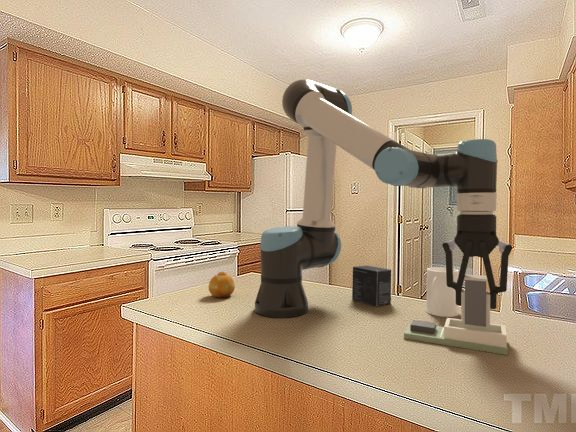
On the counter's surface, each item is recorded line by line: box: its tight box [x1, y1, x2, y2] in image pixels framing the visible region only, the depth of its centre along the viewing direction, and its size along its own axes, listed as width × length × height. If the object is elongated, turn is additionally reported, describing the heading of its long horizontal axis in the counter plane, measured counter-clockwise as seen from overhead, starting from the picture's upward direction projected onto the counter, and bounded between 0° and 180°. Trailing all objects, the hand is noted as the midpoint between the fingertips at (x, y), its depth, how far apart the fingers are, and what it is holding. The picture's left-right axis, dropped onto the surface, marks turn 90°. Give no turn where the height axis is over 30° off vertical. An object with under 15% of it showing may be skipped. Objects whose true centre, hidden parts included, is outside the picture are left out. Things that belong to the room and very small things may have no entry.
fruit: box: [208, 271, 236, 298], centre depth 121 cm, size 8×8×8 cm
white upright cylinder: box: [425, 266, 460, 318], centre depth 101 cm, size 12×8×12 cm
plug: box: [464, 273, 487, 327], centre depth 80 cm, size 4×4×10 cm
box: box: [351, 265, 392, 307], centre depth 114 cm, size 11×7×10 cm, turn 34°
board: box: [403, 319, 509, 356], centre depth 82 cm, size 20×8×3 cm, turn 62°
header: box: [443, 317, 508, 348], centre depth 80 cm, size 12×7×2 cm, turn 62°
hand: (475, 321), depth 80 cm, fingers closed on plug, 4 cm apart
